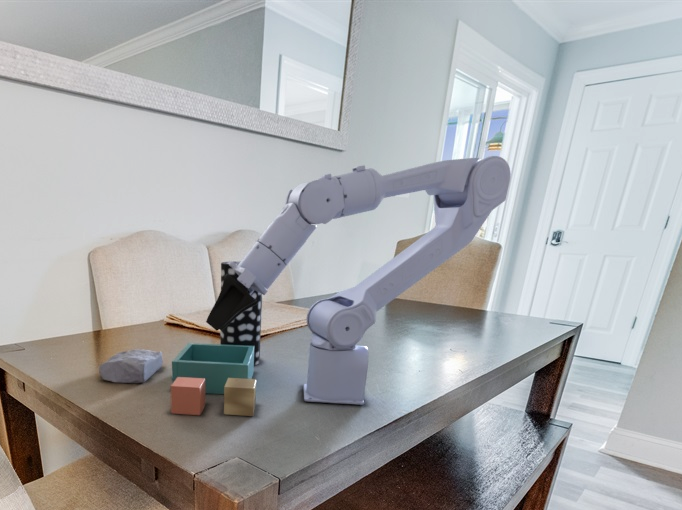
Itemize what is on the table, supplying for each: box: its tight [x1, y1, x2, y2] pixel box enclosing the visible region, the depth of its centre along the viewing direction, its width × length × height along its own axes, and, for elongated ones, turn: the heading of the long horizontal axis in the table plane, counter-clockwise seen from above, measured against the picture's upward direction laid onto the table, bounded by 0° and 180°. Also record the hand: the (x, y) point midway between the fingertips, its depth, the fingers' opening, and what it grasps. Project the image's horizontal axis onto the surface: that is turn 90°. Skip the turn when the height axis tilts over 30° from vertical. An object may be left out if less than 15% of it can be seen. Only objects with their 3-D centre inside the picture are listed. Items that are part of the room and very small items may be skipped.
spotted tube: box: [219, 260, 263, 366], centre depth 94 cm, size 8×8×20 cm
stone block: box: [98, 348, 164, 384], centre depth 89 cm, size 12×5×10 cm
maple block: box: [223, 378, 257, 417], centre depth 71 cm, size 4×4×4 cm
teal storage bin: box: [171, 342, 255, 395], centre depth 84 cm, size 13×13×5 cm
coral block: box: [170, 377, 206, 416], centre depth 72 cm, size 4×4×4 cm
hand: (213, 326), depth 71 cm, fingers open, 7 cm apart
